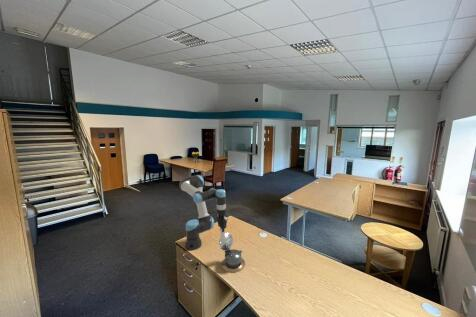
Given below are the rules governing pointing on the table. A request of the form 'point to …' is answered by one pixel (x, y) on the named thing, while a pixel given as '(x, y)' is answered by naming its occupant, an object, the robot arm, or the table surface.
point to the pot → (233, 261)
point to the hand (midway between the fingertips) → (222, 235)
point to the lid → (226, 241)
